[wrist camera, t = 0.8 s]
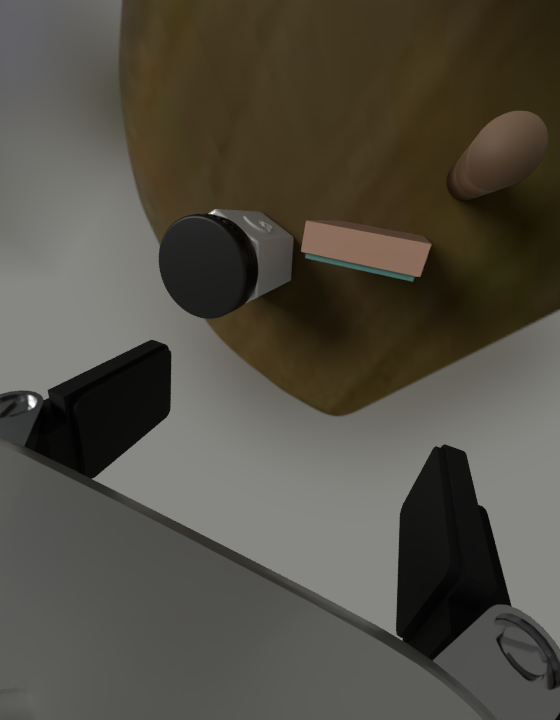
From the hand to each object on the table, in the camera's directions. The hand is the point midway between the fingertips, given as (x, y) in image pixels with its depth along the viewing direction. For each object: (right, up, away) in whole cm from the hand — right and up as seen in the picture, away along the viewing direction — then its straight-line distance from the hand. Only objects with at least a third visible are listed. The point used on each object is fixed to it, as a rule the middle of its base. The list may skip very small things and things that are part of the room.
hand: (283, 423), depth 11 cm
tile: (+9, +14, +20) cm, 26 cm away
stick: (+16, +18, +16) cm, 29 cm away
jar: (-2, +14, +25) cm, 29 cm away
